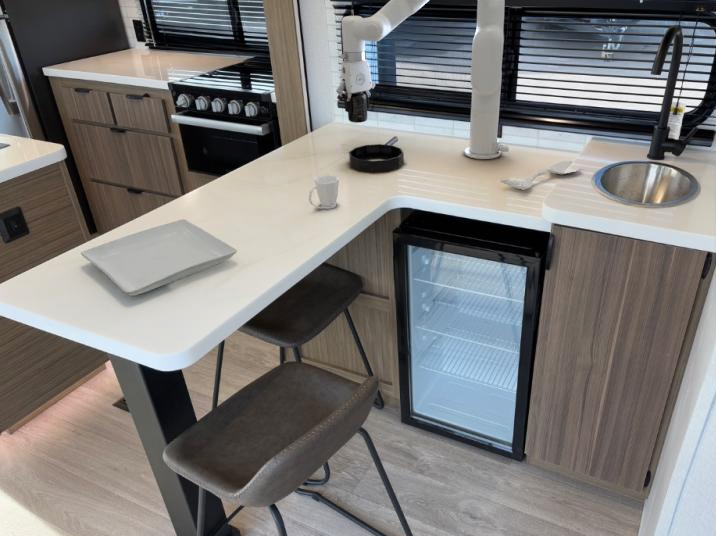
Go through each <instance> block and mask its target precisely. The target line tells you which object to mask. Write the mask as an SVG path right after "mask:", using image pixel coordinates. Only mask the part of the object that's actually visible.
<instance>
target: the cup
mask: <svg viewBox="0 0 716 536" xmlns="http://www.w3.org/2000/svg"><path fill="white" fill-rule="evenodd" d="M313 180H314V181H313V182H314V184H315V185H314V186H312V187H311V188H310V190H309V191H308V202H309V204H310V205H311V206H313V207H315V208H317V209H322V210H323V209H327V210H330V209H334V208H335V207H337V199H338V194H339V181H340V179H339V178H338V176H336V175H330V174H327V175H319V176H318V177H316V178H314V179H313ZM315 189H316V193H317V196H318V199H319V202H320V206H318V205H316V204H314V203H313V201H312V194H313V192H314V190H315Z"/></svg>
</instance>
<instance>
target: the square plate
mask: <svg viewBox="0 0 716 536" xmlns="http://www.w3.org/2000/svg"><path fill="white" fill-rule="evenodd" d="M237 252H238V249H236V248H235V247H234V246H231V245H230V244H228V243H226V242H225V241H223V240H221V239H220V238H218V237H216V236H214V235H213V234H211V233H209V232H208V231H206V230H204V229H203V228H201V227H199V226H197V225H196V224H194V223H193V222H191V221H189V220H187V219H184V218H182V219H178V220H175V221H172V222H168V223H165V224H161V225H158V226H155V227H151V228H148V229H147V228H146V229H145V230H144V229H143V230H141V231H138V232H135V233H132V234H128V235H126V236H123V237H119V238H116V239H114V240H112V241H108V242H105V243H102V244H99V245H97V246H94V247H92V248H88V249H85V250H83V251H81V252H80V255H81V256H82V258H84V259H85V260H86V261H88V262H89V263H91V264H92V265H94V266H95V267H96V268H98V270H100V271H101V272H102V273H103V274H105V275H106V276H107V277H108V278H109V279H110V280H111V281H112V282H113V283H114V284H115V286H117V287H118V288H119V289H120V290H121V291H122V292H123V293H125V294H126V295H129V296H138V295H141V294H144V293H147V292H150V291H152V290H155V289H158V288H161V287H163V286H166V285H169V284H171V283H173V282H176V281H179V280H182V279H184V278H187V277H189V276H192V275H194V274H197V273H199V272H202V271H205V270H207V269H209V268H211V267H214V266H217V265H219V264H221V263H224V262H226V261H228V260H230V259H231V258H232V257H234V255H236V254H237Z"/></svg>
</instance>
